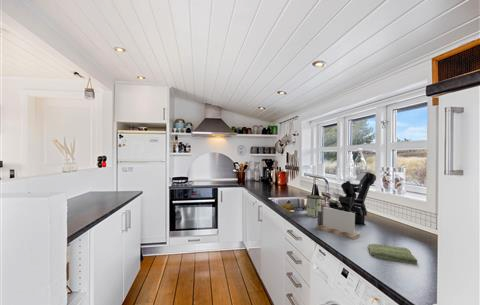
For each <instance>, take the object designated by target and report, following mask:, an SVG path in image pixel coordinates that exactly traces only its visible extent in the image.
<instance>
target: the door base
mask: <svg viewBox="0 0 480 305" xmlns="http://www.w3.org/2000/svg"><path fill="white" fill-rule="evenodd" d="M321 213H322V209H321V210H320V211H318V217H317V220H316V221H317V223H316V224H317V225H315V226H314V229H317V230H321V231H324V232H327V233H332V234H334V235H337V236H340V237H343V238H344V237H345V238H347V239H351V240H356V239H357V238H359V237H360V236H361V234H360V233H357V232H354V234H350V233H347V232H343V231H340V230H336V229H333V228H330V227H326V226H323V225H321Z"/></svg>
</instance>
